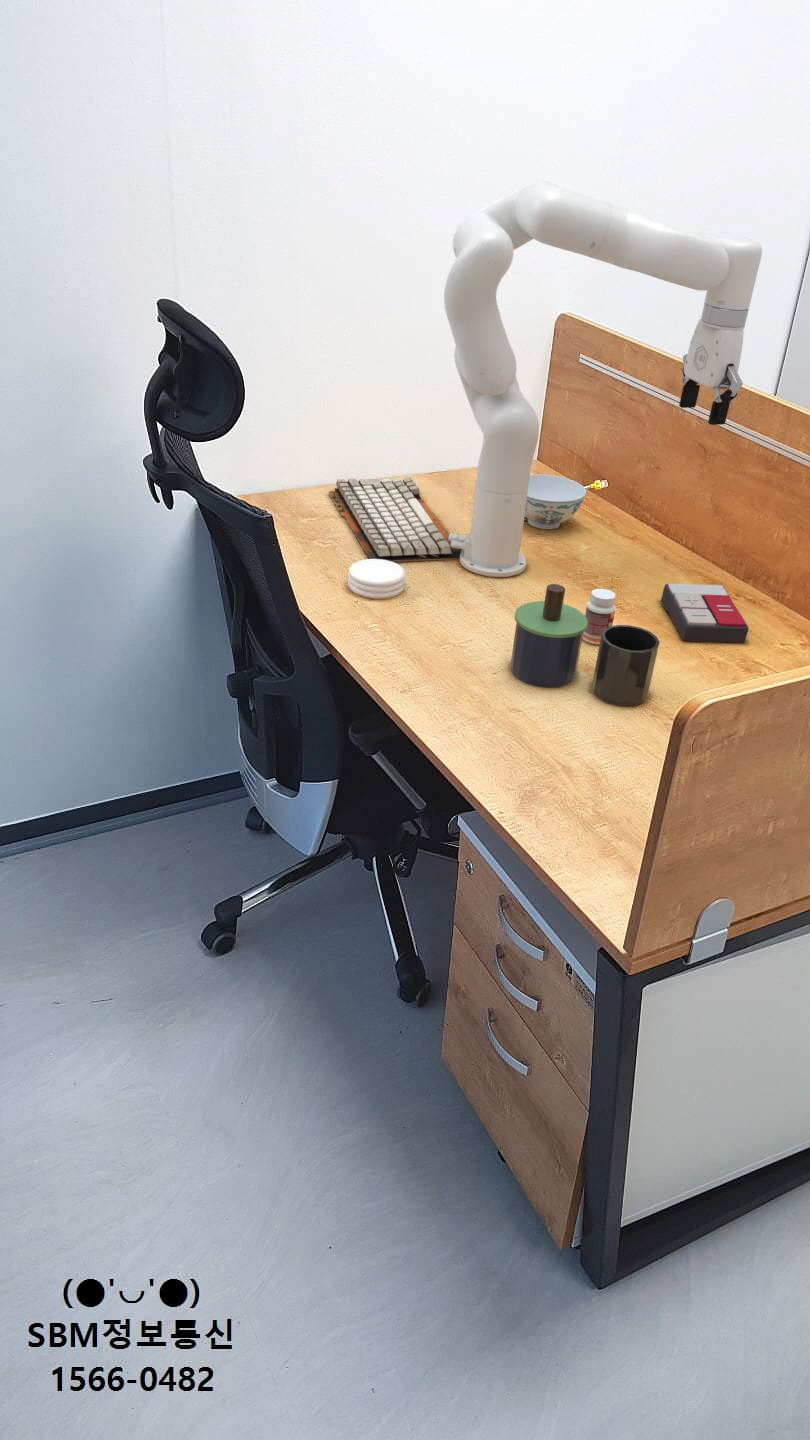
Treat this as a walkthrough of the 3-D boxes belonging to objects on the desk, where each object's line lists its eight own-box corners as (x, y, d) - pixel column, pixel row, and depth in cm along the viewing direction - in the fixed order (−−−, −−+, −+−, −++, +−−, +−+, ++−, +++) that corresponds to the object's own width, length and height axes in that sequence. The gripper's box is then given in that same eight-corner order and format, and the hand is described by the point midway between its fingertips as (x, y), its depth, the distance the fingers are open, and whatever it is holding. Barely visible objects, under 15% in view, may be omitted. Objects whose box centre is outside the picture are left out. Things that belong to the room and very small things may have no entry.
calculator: (687, 622, 184) (665, 579, 197) (682, 644, 187) (660, 600, 199) (750, 624, 185) (724, 581, 198) (744, 646, 188) (718, 602, 200)
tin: (503, 678, 172) (510, 627, 167) (519, 650, 180) (526, 600, 175) (567, 693, 169) (576, 642, 164) (580, 664, 177) (589, 614, 172)
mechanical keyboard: (467, 559, 209) (469, 543, 208) (371, 566, 204) (372, 549, 202) (410, 488, 240) (411, 473, 238) (325, 492, 234) (325, 477, 233)
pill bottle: (611, 646, 183) (620, 601, 179) (583, 644, 183) (591, 598, 179) (607, 633, 187) (616, 588, 183) (579, 631, 187) (587, 586, 183)
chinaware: (498, 527, 224) (502, 491, 219) (520, 504, 235) (525, 469, 231) (569, 543, 219) (575, 506, 215) (588, 518, 231) (594, 483, 227)
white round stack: (383, 571, 202) (384, 553, 200) (415, 592, 195) (416, 574, 193) (337, 582, 197) (337, 564, 195) (368, 604, 190) (369, 586, 188)
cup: (586, 698, 168) (596, 644, 163) (597, 673, 175) (607, 620, 170) (642, 712, 166) (654, 657, 161) (651, 685, 173) (663, 632, 168)
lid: (505, 631, 167) (510, 594, 164) (524, 602, 176) (529, 566, 173) (578, 647, 164) (584, 610, 161) (593, 617, 173) (599, 581, 170)
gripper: (678, 304, 194) (658, 401, 203) (733, 329, 181) (709, 431, 190) (715, 305, 196) (693, 400, 206) (771, 329, 183) (746, 430, 192)
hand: (701, 415), depth 198 cm, fingers open, 9 cm apart
